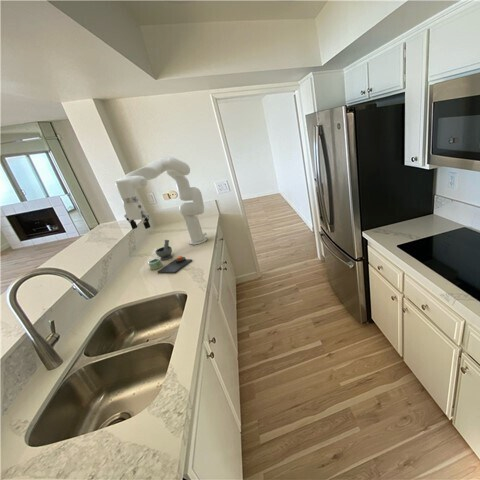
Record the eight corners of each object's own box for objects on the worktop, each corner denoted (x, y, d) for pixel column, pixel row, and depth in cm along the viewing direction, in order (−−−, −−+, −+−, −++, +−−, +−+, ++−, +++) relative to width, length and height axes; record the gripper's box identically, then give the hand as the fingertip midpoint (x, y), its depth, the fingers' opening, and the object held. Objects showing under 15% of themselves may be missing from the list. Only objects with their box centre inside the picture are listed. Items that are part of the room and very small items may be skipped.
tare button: (180, 258, 176) (179, 255, 175) (183, 258, 175) (182, 255, 175) (176, 260, 173) (176, 258, 173) (180, 260, 173) (179, 258, 172)
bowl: (156, 264, 177) (153, 258, 175) (165, 265, 175) (162, 258, 173) (148, 270, 171) (145, 263, 169) (157, 270, 169) (154, 263, 167)
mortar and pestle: (166, 261, 180) (160, 245, 175) (155, 261, 183) (149, 245, 178) (178, 254, 190) (173, 238, 185) (168, 253, 193) (162, 238, 188)
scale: (176, 260, 180) (175, 256, 178) (192, 260, 176) (191, 256, 175) (158, 273, 165) (156, 269, 164) (175, 273, 162) (173, 269, 161)
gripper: (147, 197, 153) (158, 225, 159) (124, 199, 157) (135, 226, 164) (136, 201, 146) (148, 230, 153) (112, 202, 151) (124, 230, 157)
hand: (141, 228), depth 158 cm, fingers open, 9 cm apart
